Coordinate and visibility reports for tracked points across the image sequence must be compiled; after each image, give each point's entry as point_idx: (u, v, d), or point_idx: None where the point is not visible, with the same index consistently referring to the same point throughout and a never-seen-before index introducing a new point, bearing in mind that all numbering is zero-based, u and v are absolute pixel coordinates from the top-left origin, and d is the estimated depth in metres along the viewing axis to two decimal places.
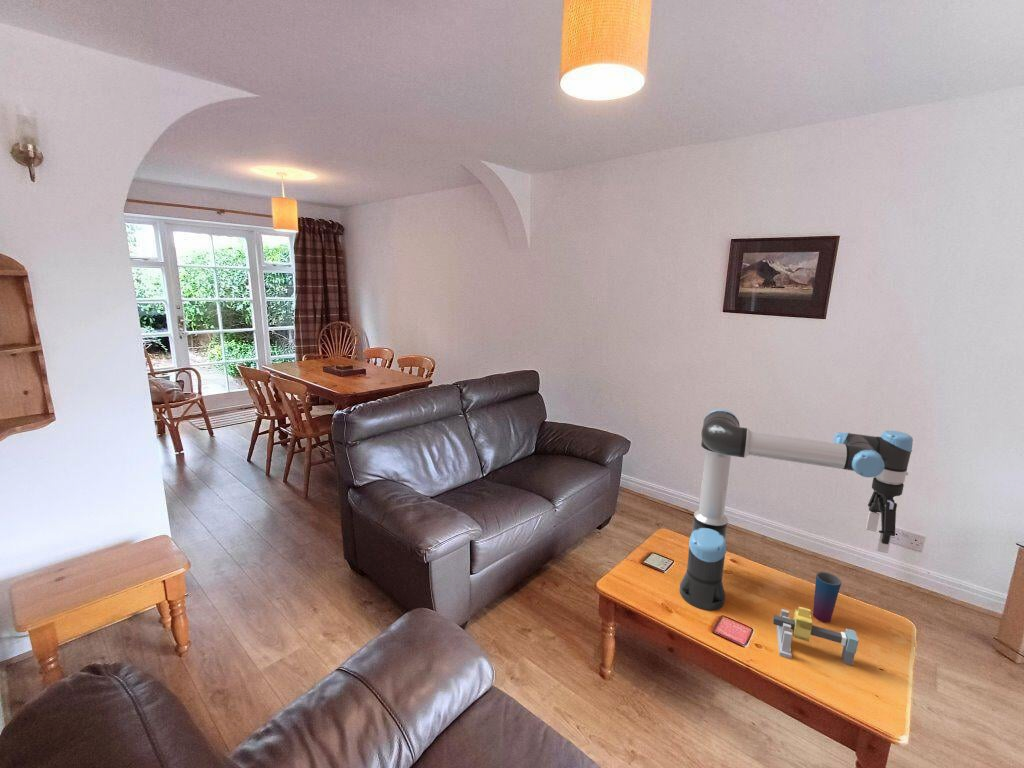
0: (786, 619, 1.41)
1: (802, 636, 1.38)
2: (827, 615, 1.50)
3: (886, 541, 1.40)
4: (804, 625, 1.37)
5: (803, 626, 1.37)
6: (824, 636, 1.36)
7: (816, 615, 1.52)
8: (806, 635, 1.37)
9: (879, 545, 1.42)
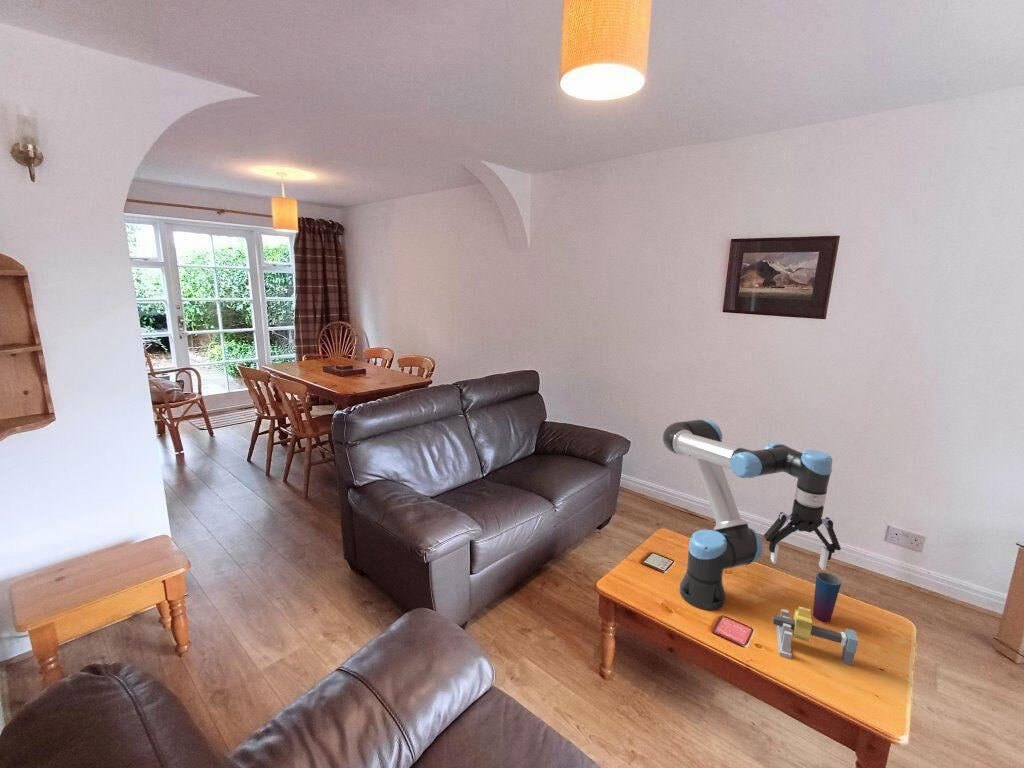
0: (786, 619, 1.41)
1: (802, 636, 1.38)
2: (827, 615, 1.50)
3: (769, 548, 1.42)
4: (804, 625, 1.37)
5: (803, 626, 1.37)
6: (824, 636, 1.36)
7: (816, 615, 1.52)
8: (806, 635, 1.37)
9: (771, 553, 1.43)
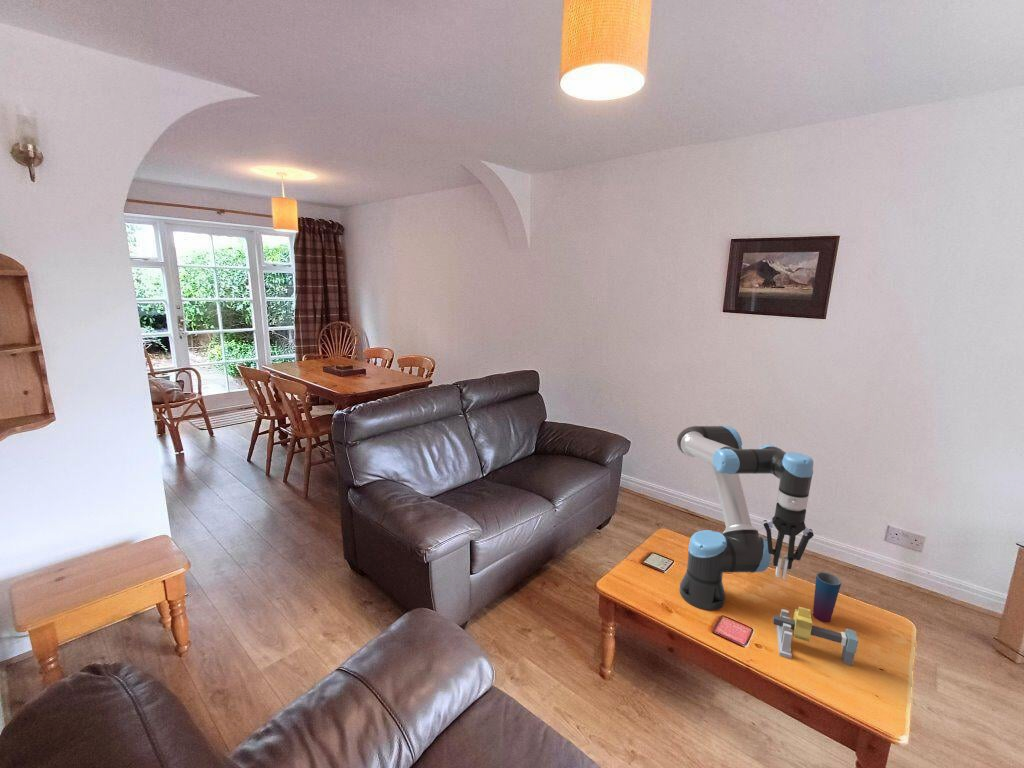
0: (786, 619, 1.41)
1: (802, 636, 1.38)
2: (827, 615, 1.50)
3: (773, 561, 1.39)
4: (804, 625, 1.37)
5: (803, 626, 1.37)
6: (824, 636, 1.36)
7: (816, 615, 1.52)
8: (806, 635, 1.37)
9: (776, 567, 1.40)
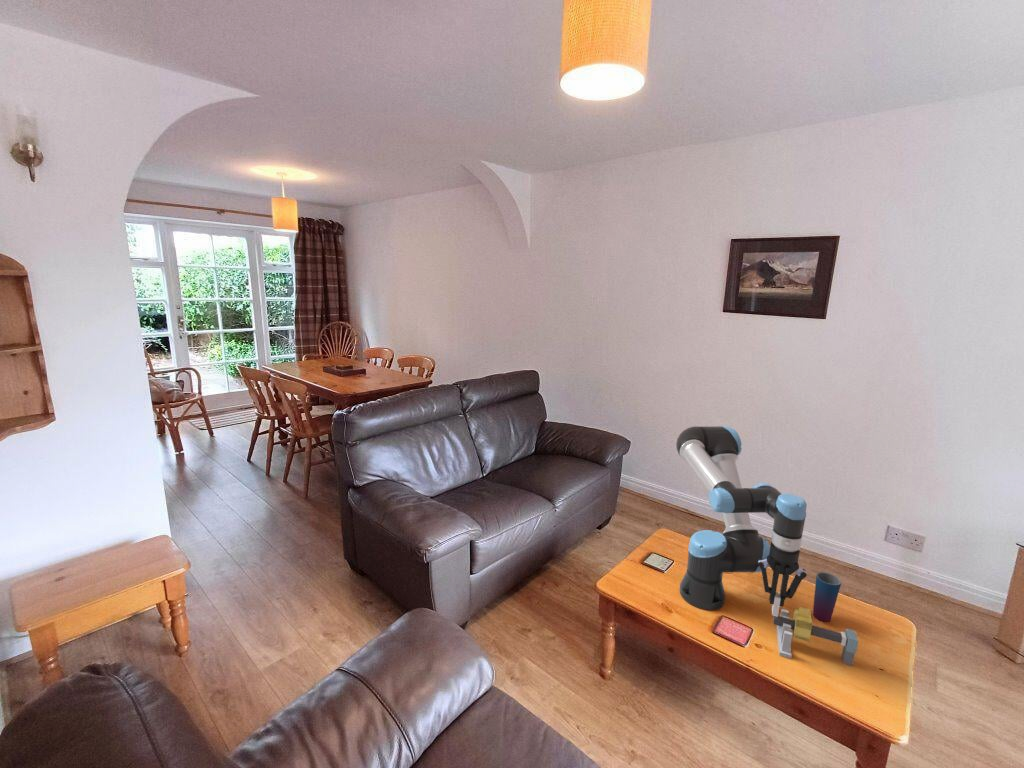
0: (786, 619, 1.41)
1: (802, 636, 1.38)
2: (827, 615, 1.50)
3: (769, 599, 1.42)
4: (804, 625, 1.37)
5: (803, 626, 1.37)
6: (824, 636, 1.36)
7: (816, 615, 1.52)
8: (806, 635, 1.37)
9: (772, 605, 1.43)
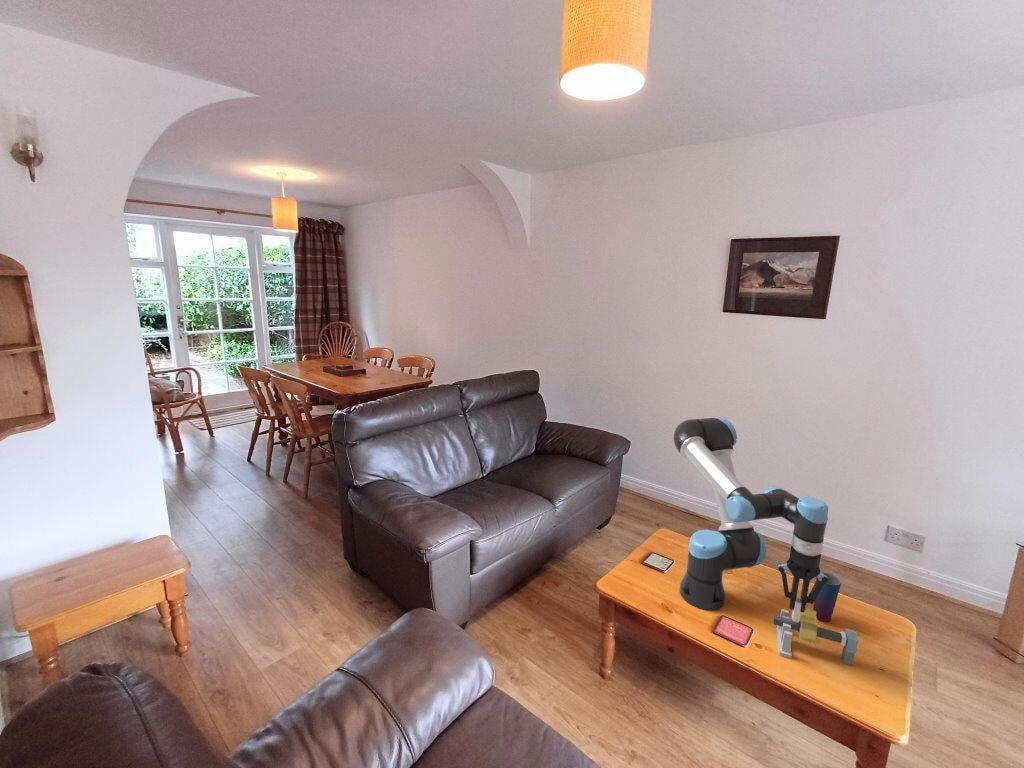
0: (786, 619, 1.41)
1: (808, 638, 1.37)
2: (827, 615, 1.50)
3: (789, 604, 1.39)
4: (810, 627, 1.36)
5: (809, 628, 1.36)
6: (824, 636, 1.36)
7: (816, 615, 1.52)
8: (812, 637, 1.37)
9: None
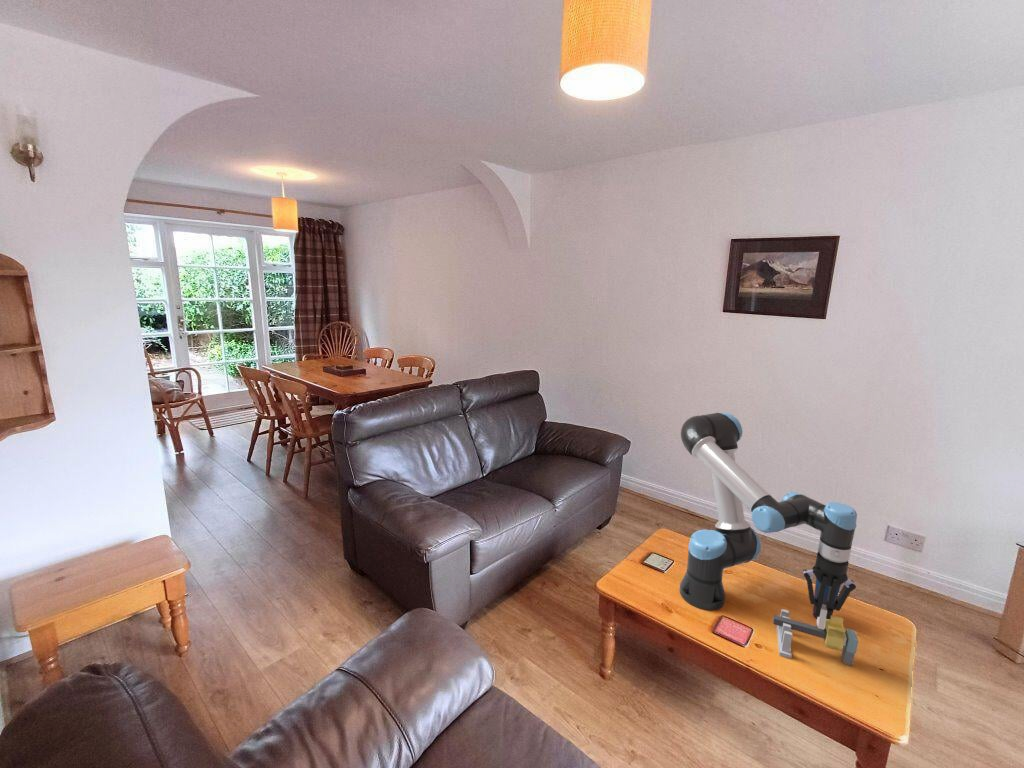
0: (786, 619, 1.41)
1: (835, 646, 1.34)
2: None
3: (815, 611, 1.37)
4: (837, 634, 1.33)
5: (835, 635, 1.34)
6: (824, 636, 1.36)
7: None
8: (838, 644, 1.34)
9: (817, 617, 1.38)
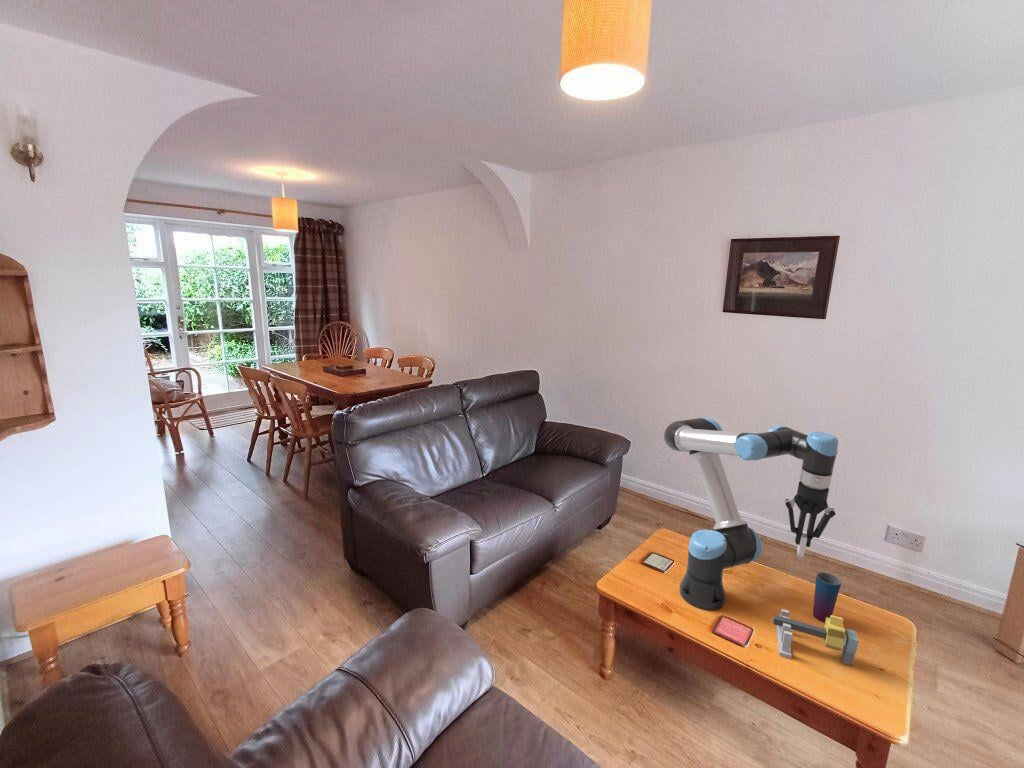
0: (786, 619, 1.41)
1: (835, 646, 1.34)
2: (827, 615, 1.50)
3: (795, 540, 1.40)
4: (837, 634, 1.33)
5: (835, 635, 1.34)
6: (824, 636, 1.36)
7: (816, 615, 1.52)
8: (838, 644, 1.34)
9: (798, 545, 1.41)
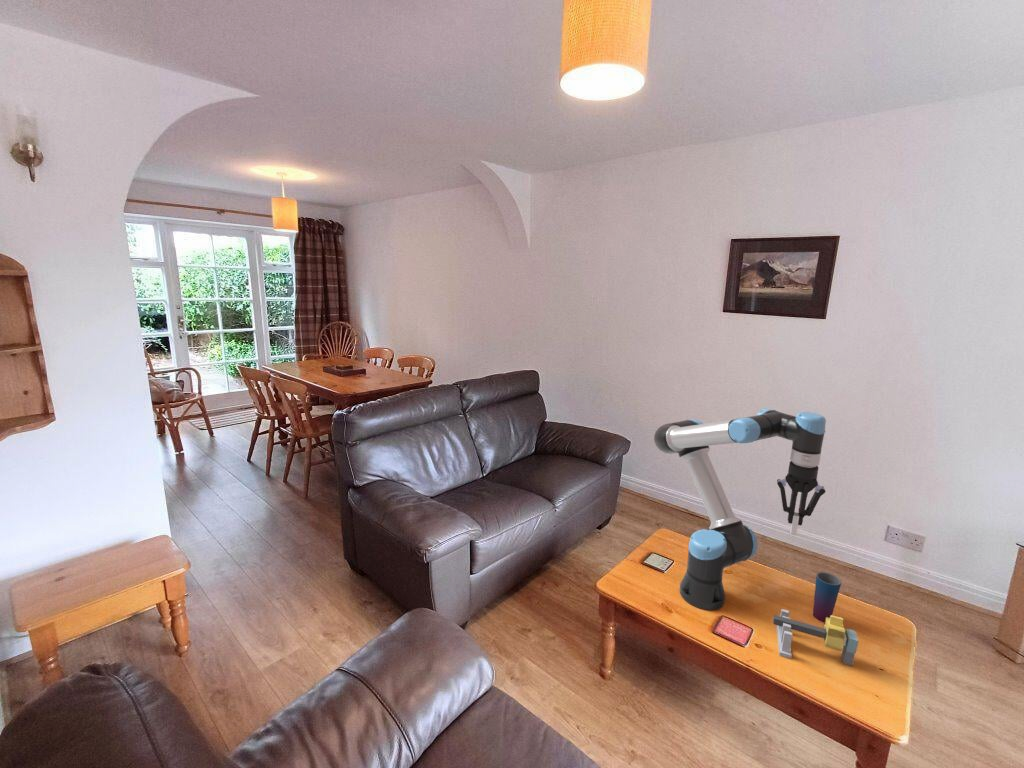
0: (786, 619, 1.41)
1: (835, 646, 1.34)
2: (827, 615, 1.50)
3: (788, 519, 1.44)
4: (837, 634, 1.33)
5: (835, 635, 1.34)
6: (824, 636, 1.36)
7: (816, 615, 1.52)
8: (838, 644, 1.34)
9: None
